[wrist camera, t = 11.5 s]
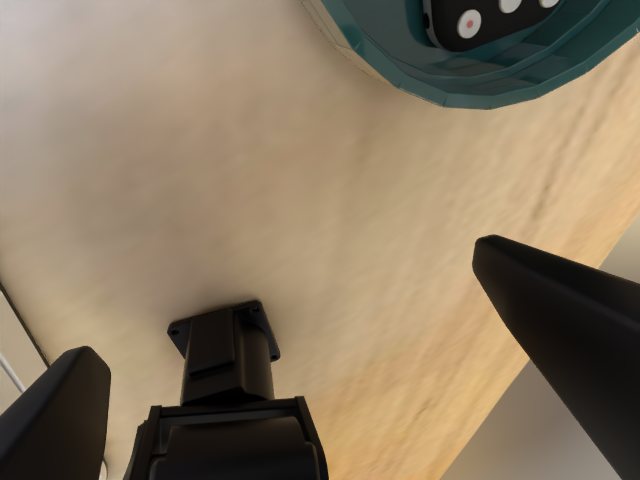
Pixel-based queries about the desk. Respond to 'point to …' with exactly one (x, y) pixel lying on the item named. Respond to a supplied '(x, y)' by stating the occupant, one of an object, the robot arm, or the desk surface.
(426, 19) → the remote control
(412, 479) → the desk surface
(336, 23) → the bowl
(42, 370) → the laminator
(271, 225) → the desk surface
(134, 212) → the desk surface
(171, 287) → the desk surface
